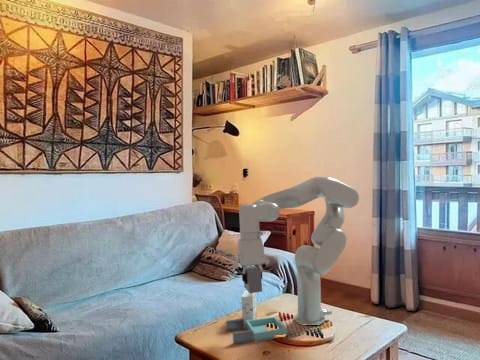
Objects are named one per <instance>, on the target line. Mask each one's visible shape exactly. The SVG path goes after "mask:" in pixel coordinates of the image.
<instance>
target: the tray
mask: <svg viewBox="0 0 480 360" xmlns="http://www.w3.org/2000/svg"><path fill="white" fill-rule="evenodd" d="M269 323H275V324H276V325H277V326H278V327H279V328H280V329H277V330H270V331H267V330H266V328H265V326H266V325H267V324H269ZM244 326H245V329H246V331H249V330H251V331H252V341H253V342H255V343H256V342H261V341H262V342H263V341H268V340H270V341H271V340H275V339H274V336H275V335H283V334H287V335H288V328H286V326H285V325H284V324H283V323H282V322H281V321H280V320H279V319H278V317H277V316H269V317H260V318H256V319H252V320H245V324H244Z"/></svg>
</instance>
